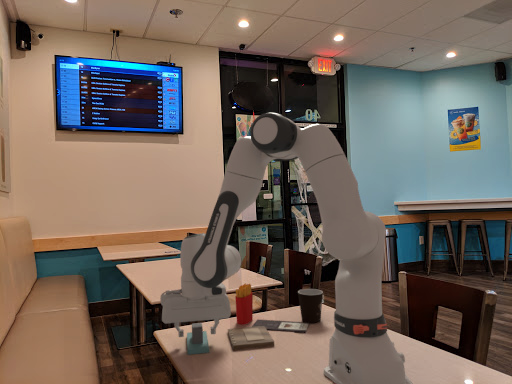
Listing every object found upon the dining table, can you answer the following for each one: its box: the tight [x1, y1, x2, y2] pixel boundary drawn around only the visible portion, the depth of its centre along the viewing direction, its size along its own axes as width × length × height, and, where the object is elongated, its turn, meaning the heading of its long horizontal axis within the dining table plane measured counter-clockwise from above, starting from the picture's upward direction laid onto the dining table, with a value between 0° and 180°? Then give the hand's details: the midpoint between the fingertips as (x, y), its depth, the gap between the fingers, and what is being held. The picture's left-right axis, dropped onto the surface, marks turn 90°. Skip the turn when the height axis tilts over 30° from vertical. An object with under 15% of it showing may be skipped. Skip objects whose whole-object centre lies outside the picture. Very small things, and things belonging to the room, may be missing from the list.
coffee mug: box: [297, 288, 324, 325], centre depth 134 cm, size 12×9×10 cm
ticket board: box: [227, 326, 275, 351], centre depth 116 cm, size 14×12×2 cm
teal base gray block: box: [186, 322, 210, 355], centre depth 113 cm, size 14×6×5 cm, turn 11°
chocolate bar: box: [251, 319, 310, 334], centre depth 127 cm, size 9×1×18 cm
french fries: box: [234, 283, 254, 326], centre depth 133 cm, size 9×4×13 cm, turn 156°
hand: (197, 335), depth 113 cm, fingers open, 8 cm apart
